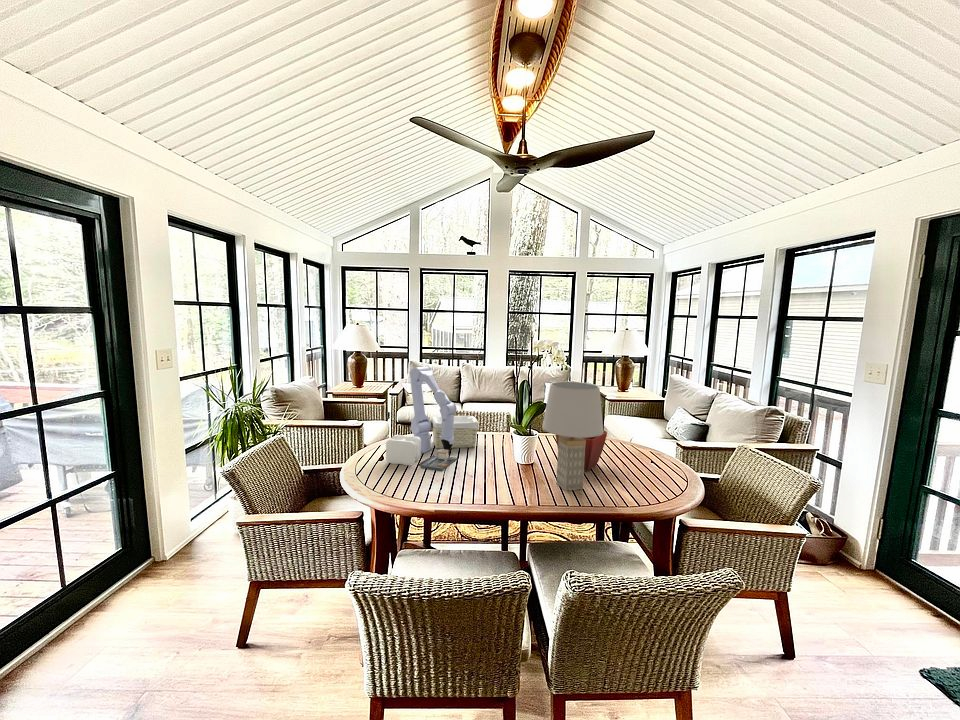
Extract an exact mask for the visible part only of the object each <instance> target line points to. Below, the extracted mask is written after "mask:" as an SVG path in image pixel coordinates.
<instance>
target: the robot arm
mask: <svg viewBox="0 0 960 720" xmlns="http://www.w3.org/2000/svg"><path fill="white" fill-rule="evenodd" d="M433 375H434V371H432V368H431V367H430V366H429V365H425V366H424V365H423V366H413V367H412V368H411V369H410V371H409V376H410V377H409V378H410V389H411V397H412V403H413V404H412V405H413V413H414V414H413V415H414V416H413V417H412V418H411V420H410V423H411V424H410V431H411V432H412V435H413V436H414V437H419V438H420V439H421V454H424V453H427V452H428V451H429V450H432V449H433V447H432V446H431V445H432V444H431V443H432V440H431V439H432V438H431V434H430V431H431V429H432V423H431V421H430V417H429V416H428V415H426V411H425V409H426V408H425V401H424V394H423V387H422V386H423V385H422V384H423V383H426V385H428V388H430V391H432V392H433V399H434V400H435V402H436V403H437V405H438V406H439V413H440V416H441V417H442V436H439V438H441V439H444V440H441V442H442V444H443V448H442V449H446V450H449V453H448V456H450V454H451V450H452V448H451V447H452V445H453V444H454V440H453V439H454V436H453V430H454V416H455V414H456V413H457V406H456V404H455V403H454V402H452V400H450V399H449V397H448V396H447V394H446V392H445V391H444V390H441V388H440V387H439V385H438V384H437V381H436V379H435V377H434V376H433Z"/></svg>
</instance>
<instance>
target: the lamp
mask: <svg viewBox="0 0 960 720" xmlns="http://www.w3.org/2000/svg"><path fill="white" fill-rule="evenodd" d="M601 399H602V398H601V391H600V386H599V385H597V384H594V383H589V382H581V381H554V382H553V381H552V382H551V383H550V385H549V391H548V396H547V400H546V405H545V410H544V415H543V420H542V427H541V429H542V430H543V431H545V432H547V433H549V434H551V435H555V436H556V435H560V436H558V441H559V442H558V447H557V465H556V467H557V468H556V485H558V486H559V487H560V488H562V489H563V490H564V492H568V491H567V490H569V491H577V490H576V489H580V490H583V489H584V477H585V474H584V472H585V471H584V459H585V445H586V440H585V439H583V438H588V437H596V436H600V435H602V434H603V432H604V431H605V430H604V424H603V423H604V422H603V413H602V403H601V401H602V400H601ZM562 489H561V490H562Z"/></svg>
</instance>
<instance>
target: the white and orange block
mask: <svg viewBox="0 0 960 720" xmlns="http://www.w3.org/2000/svg"><path fill="white" fill-rule="evenodd" d="M437 453H438V454H437V455H438V459H444V460H446V459H447V458H448V456H449V455H448V453H449V450H446V449H444V448H439V450H438V451H437Z"/></svg>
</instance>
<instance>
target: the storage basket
mask: <svg viewBox="0 0 960 720" xmlns="http://www.w3.org/2000/svg"><path fill="white" fill-rule="evenodd" d="M431 421H432V437H433V438H432V439H433V444H434V446H435V448H436V449H444V448H443V444H442V442H441V440H444V439H441V438H439V436H442V417H441V415H437V416H436V415H435V416H434V415H433V416H432V417H431ZM479 424H480V423H479V421H478V420H477V418H476V417H475V416H473V415H454V430H453V436H454V439H453V440H454V444H453V445H452V447H451V449H453V448H454V449H465V448H475V447H476V441H477V434H478V428H479Z"/></svg>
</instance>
